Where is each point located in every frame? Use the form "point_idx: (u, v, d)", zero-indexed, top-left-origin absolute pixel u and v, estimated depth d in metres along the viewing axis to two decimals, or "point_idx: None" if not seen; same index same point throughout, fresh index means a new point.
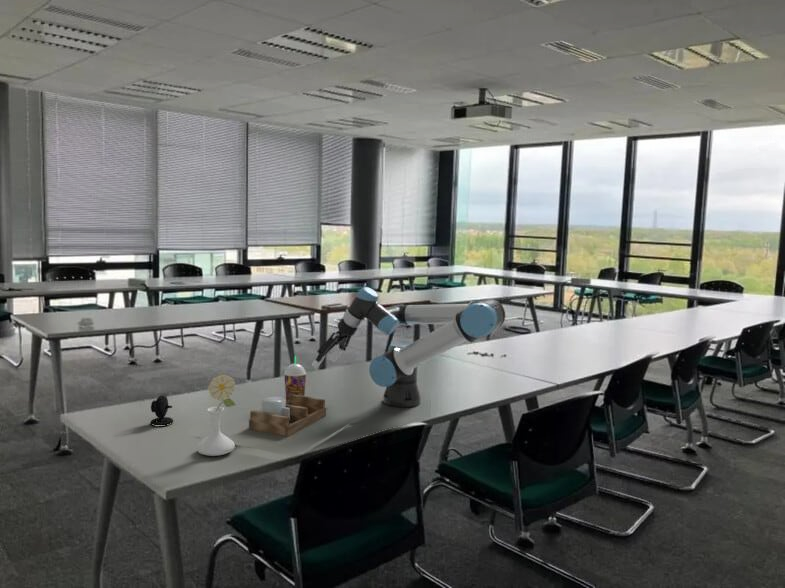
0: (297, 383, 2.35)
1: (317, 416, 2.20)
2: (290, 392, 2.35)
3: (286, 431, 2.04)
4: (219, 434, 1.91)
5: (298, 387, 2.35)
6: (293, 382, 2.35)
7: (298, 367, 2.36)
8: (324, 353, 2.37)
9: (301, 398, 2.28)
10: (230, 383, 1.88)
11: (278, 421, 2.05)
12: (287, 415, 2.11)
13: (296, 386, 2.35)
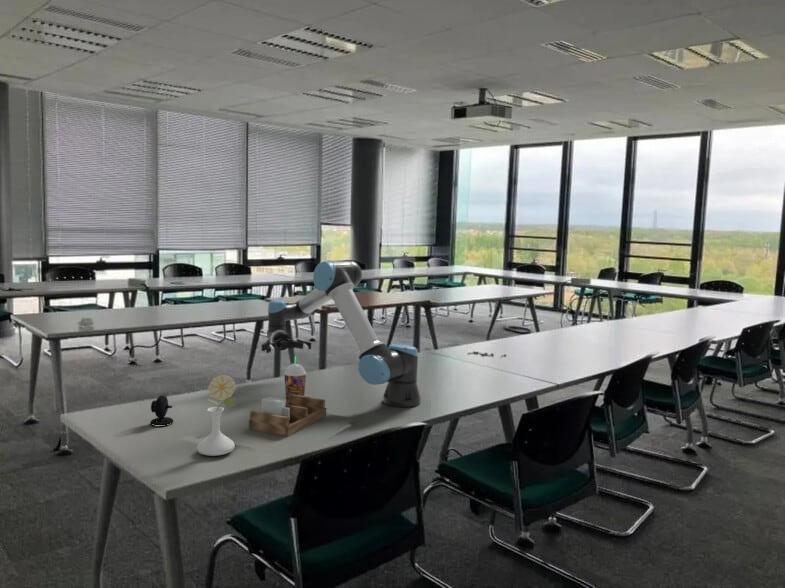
0: (297, 383, 2.35)
1: (317, 416, 2.20)
2: (290, 392, 2.35)
3: (286, 431, 2.04)
4: (219, 434, 1.91)
5: (298, 387, 2.35)
6: (293, 382, 2.35)
7: (298, 367, 2.36)
8: (264, 344, 2.51)
9: (301, 398, 2.28)
10: (230, 383, 1.88)
11: (278, 421, 2.05)
12: (287, 415, 2.11)
13: (296, 386, 2.35)
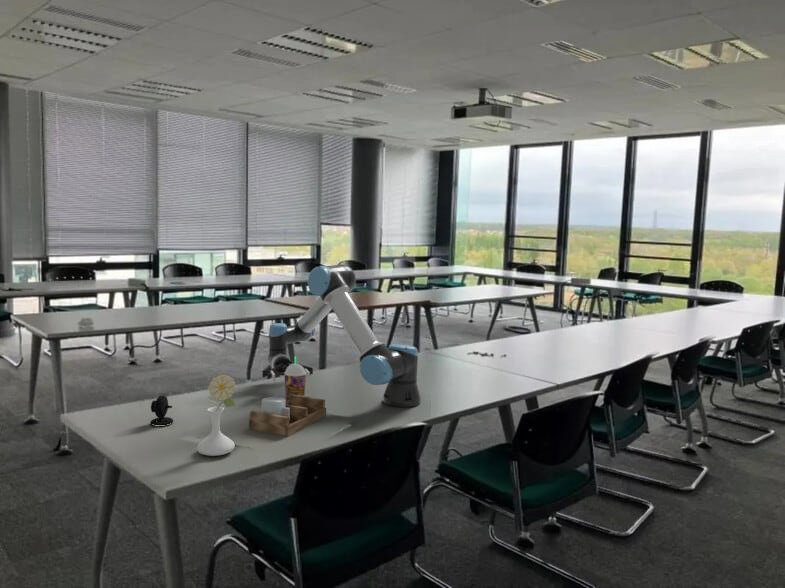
0: (297, 383, 2.35)
1: (317, 416, 2.20)
2: (290, 392, 2.35)
3: (286, 431, 2.04)
4: (219, 434, 1.91)
5: (298, 387, 2.35)
6: (293, 382, 2.35)
7: (298, 367, 2.36)
8: (265, 370, 2.47)
9: (301, 398, 2.28)
10: (230, 383, 1.88)
11: (278, 421, 2.05)
12: (287, 415, 2.11)
13: (296, 386, 2.35)
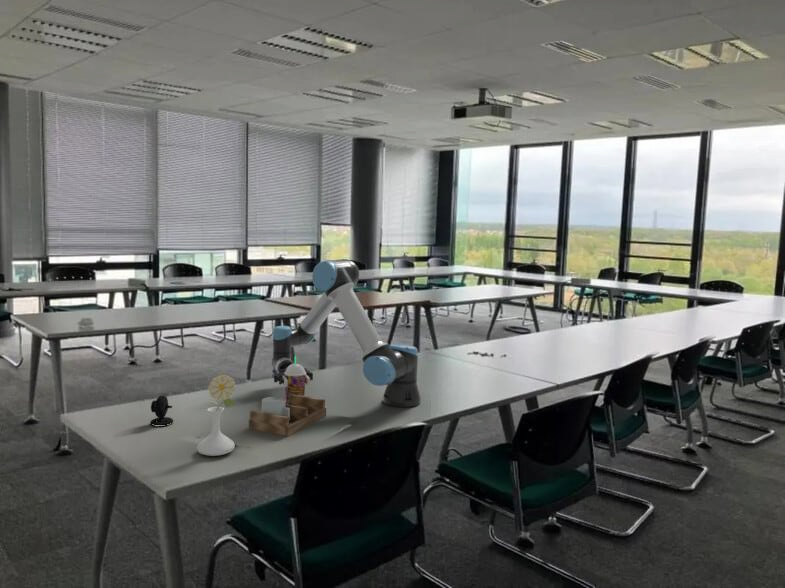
0: (297, 383, 2.35)
1: (317, 416, 2.20)
2: (290, 392, 2.35)
3: (286, 431, 2.04)
4: (219, 434, 1.91)
5: (298, 387, 2.35)
6: (293, 382, 2.35)
7: (298, 367, 2.36)
8: (276, 375, 2.39)
9: (301, 398, 2.28)
10: (230, 383, 1.88)
11: (278, 421, 2.05)
12: (287, 415, 2.11)
13: (296, 386, 2.35)
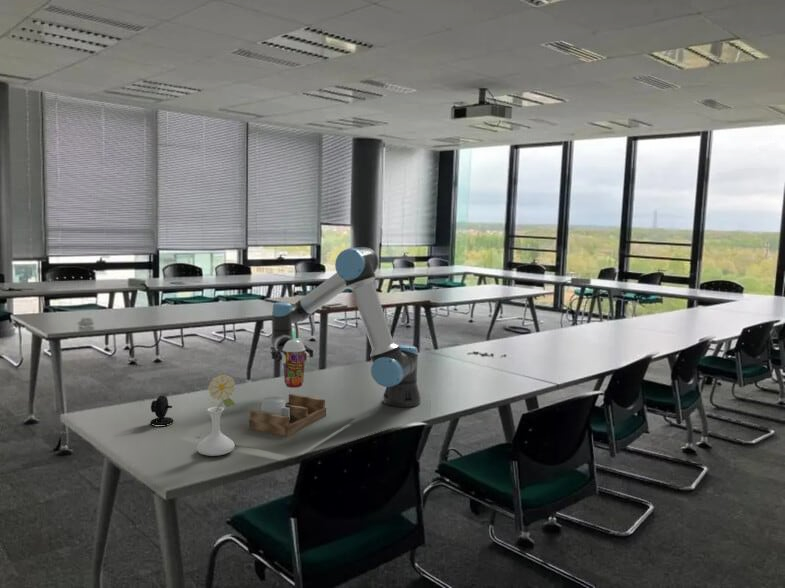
0: (296, 359, 2.22)
1: (317, 416, 2.20)
2: (288, 369, 2.23)
3: (286, 431, 2.04)
4: (219, 434, 1.91)
5: (297, 364, 2.22)
6: (292, 358, 2.22)
7: (297, 342, 2.23)
8: (274, 351, 2.27)
9: (301, 398, 2.28)
10: (230, 383, 1.88)
11: (278, 421, 2.05)
12: (287, 415, 2.11)
13: (295, 363, 2.22)
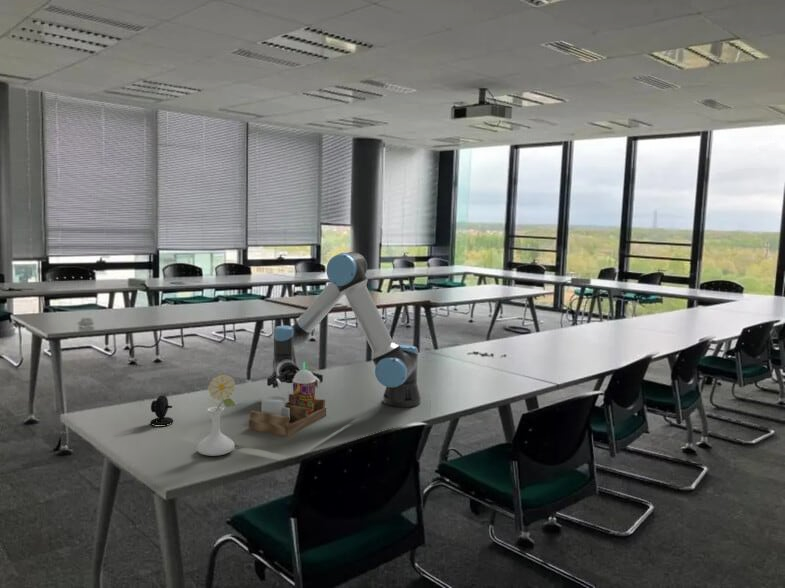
0: (307, 391, 2.19)
1: (317, 416, 2.20)
2: (299, 400, 2.20)
3: (286, 431, 2.04)
4: (219, 434, 1.91)
5: (308, 395, 2.20)
6: (302, 390, 2.19)
7: (307, 373, 2.20)
8: (270, 378, 2.23)
9: None
10: (230, 383, 1.88)
11: (278, 421, 2.05)
12: (287, 415, 2.11)
13: (306, 394, 2.19)
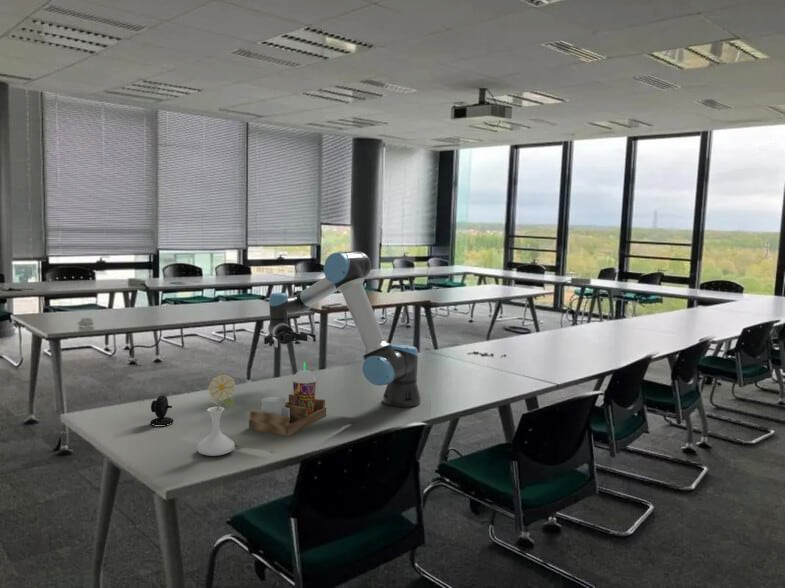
0: (307, 391, 2.20)
1: (317, 416, 2.20)
2: (299, 400, 2.20)
3: (286, 431, 2.04)
4: (219, 434, 1.91)
5: (308, 395, 2.20)
6: (303, 390, 2.19)
7: (308, 373, 2.21)
8: (267, 337, 2.40)
9: None
10: (230, 383, 1.88)
11: (278, 421, 2.05)
12: (287, 415, 2.11)
13: (306, 394, 2.20)
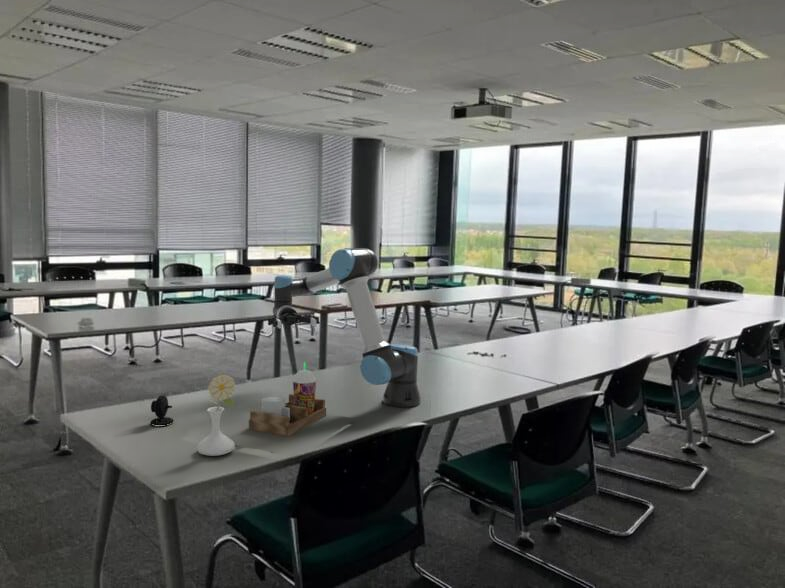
0: (307, 391, 2.19)
1: (317, 416, 2.20)
2: (299, 400, 2.20)
3: (286, 431, 2.04)
4: (219, 434, 1.91)
5: (308, 395, 2.20)
6: (303, 390, 2.19)
7: (308, 373, 2.21)
8: (271, 318, 2.43)
9: None
10: (230, 383, 1.88)
11: (278, 421, 2.05)
12: (287, 415, 2.11)
13: (306, 394, 2.20)
